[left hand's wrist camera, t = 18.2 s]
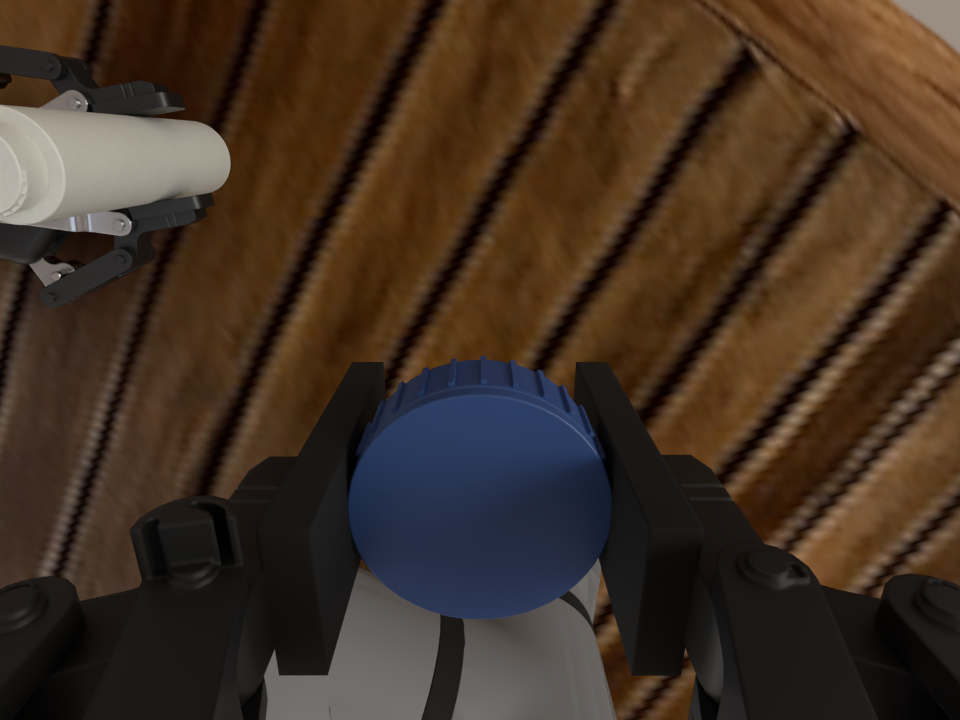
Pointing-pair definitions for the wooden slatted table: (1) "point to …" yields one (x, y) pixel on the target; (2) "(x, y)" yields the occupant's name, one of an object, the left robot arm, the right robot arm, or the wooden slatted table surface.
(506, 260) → the wooden slatted table surface
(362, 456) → the lid
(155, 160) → the white cylindrical bottle
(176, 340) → the wooden slatted table surface
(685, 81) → the wooden slatted table surface
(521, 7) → the wooden slatted table surface
